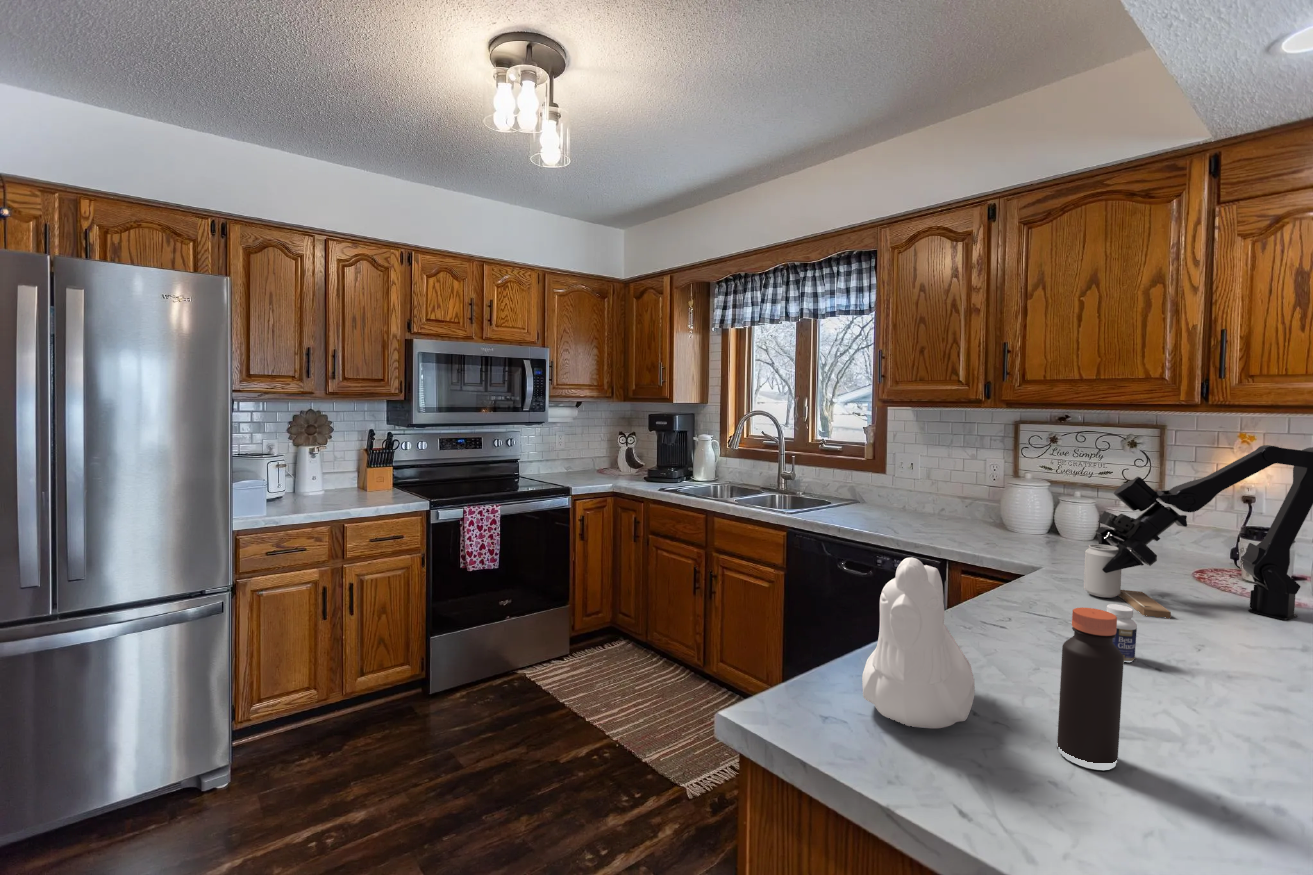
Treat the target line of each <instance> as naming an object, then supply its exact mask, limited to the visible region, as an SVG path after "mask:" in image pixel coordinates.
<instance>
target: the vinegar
mask: <svg viewBox="0 0 1313 875" xmlns="http://www.w3.org/2000/svg"><path fill="white" fill-rule="evenodd" d="M1071 614H1072V616H1071V618H1072V619H1071V626H1072V627H1071V629H1072V631H1073V636H1071V637H1070V638H1068V639H1067V640H1066V641H1064V642H1063V643H1062V646H1061V648H1062V649H1061V668H1060V681H1059V682H1060V684H1059V686H1060V687H1059V703H1058V704H1059V705H1058V719H1057V720H1058V722H1057V738H1056V739H1057V741H1056V742H1057V743H1058V747H1060V749H1062V751H1064V752H1065V753H1067V754H1069V755H1071V756H1074V757H1075V758H1078V759H1081V760H1085V761H1087V762H1093V763H1113V762H1115V761H1116V760H1117V758H1118V759H1119V747H1120V746H1119V744H1120V728H1121V713H1122V712H1121V710H1122V696H1123V693H1122V692H1123V678H1124V664H1125V663H1124V657H1123V655H1122V653H1121V652H1120V650H1119V649H1118V648H1117V647H1116V646H1115V645H1114V644H1113V638H1115V636H1116V635H1115V634H1116V630H1117V617H1116V616H1115V615H1114V614H1112V613H1109V612H1107V610H1102V609H1098V608H1092V607H1075V608H1072V613H1071ZM1057 743H1056V744H1057Z"/></svg>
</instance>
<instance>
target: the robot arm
mask: <svg viewBox="0 0 1313 875" xmlns="http://www.w3.org/2000/svg"><path fill="white" fill-rule="evenodd" d="M1276 464H1280V465H1285V466H1286V465H1288V466H1293V468H1292V484H1291V486H1290V488H1289V490H1288V491H1287V494H1286V496H1285V498H1284V499H1283V502H1282V504H1281V505H1280V507H1279V510H1278V512H1277V514H1276V516H1275V517H1274V519H1273V521H1272V522H1271V525H1270V527H1269V529H1268V531H1267V533H1266V535H1265V536H1264V539H1263V540H1262V541H1260V542H1259V543H1258V544H1254V543H1252V542H1249V543H1248V545H1247V548H1246V552H1245V553H1244V554H1243V555H1242V556H1241V557H1240V558H1241V559H1242V560H1243V562H1242V567H1243V569H1244V570H1245V573H1246V572H1247V574H1249V575H1250V576H1251V577H1252V580H1253V582H1254V583H1256V584H1253V589H1252V590H1251V591H1250V596H1249V597H1250V598H1249V608H1248V610H1247V611H1248V612H1249V613H1254V614H1257V615H1262V616H1265V617H1270V618H1273V619H1277V620H1280V621H1281V620H1282V621H1287V620H1291V619H1295V618H1298V616H1299V615H1298V614H1297V613H1295V607H1296V595H1297V593H1298V592H1299V590H1300V588H1301V585H1300V584H1299V583H1298V582H1297V581H1296V580H1295V579H1293V578H1292V577H1291V576H1290V575H1289V574H1288V572H1289V569H1290V568H1289V567H1290V564H1291V549H1292V548H1291V547H1292V546H1293V544H1294V542H1295V540H1296V538H1297V536H1298V535H1299V532H1300V530H1301V528H1302V526H1303V525H1304V522H1305V520H1306V518H1307V517H1308V515H1309V513H1310V512H1311V509H1312V507H1313V447H1312V446H1311V447H1306V448H1304V449H1302V450H1301V449H1295V448H1286V447H1279V446H1276V445H1271V444H1263V445H1260V446H1258V447H1257V448H1256V449H1255V450H1253V451H1252V452H1250V453H1248V454H1245V455H1244V456H1242V457H1240V458H1238V459H1237V460H1235V461H1233V462H1231V463H1229V464H1227V465H1225V466H1224V467H1222V468H1219V469H1218V470H1216V471H1214V472H1211V474H1209V475H1207V476H1204V477H1201V478H1197V479H1194V480H1190V481H1187V482H1184V483H1182V484H1178V485H1175V486H1173V487H1171V488H1170V489H1166V490H1156V491H1155V490H1154V489H1153V488H1152V487H1151V486H1150V485H1149V484H1147V483H1146V481H1145V480H1144V479H1143V478H1142V477H1141V476H1136V477H1134V478H1133V479H1131V480H1129V481H1127V482H1126V483H1122V484H1121V485H1120V486H1119V487H1118V488H1116V489H1115V491H1114V492H1113V495H1114V496H1116V498H1118V499H1119V500H1120V501H1121V502H1122V503H1124V504H1125V506H1127V507H1128V508H1129V509H1130V510H1131V511H1133V512H1135V511H1139V512H1143V513H1141V514H1140V515H1138V517H1136V518H1133V517H1130V516H1129V515H1127V514H1124V513H1119V514H1118V515H1116V514H1113V513H1111V512H1108V511H1106V510H1104V511H1103V512H1102V514H1101V515H1100V517H1099V519H1098V520H1097V523H1099V524H1102V525H1105V526H1100V527H1099V528H1097V529H1096V530H1095V533H1096V534H1097V535H1096V538H1097V539H1098V544H1101V545H1109V546H1114V547H1117V548H1118V553H1117V554H1116V555H1115V556H1114V557H1113V558H1112V559H1111V560H1110V561H1109V562H1108V563H1107V564H1106V565H1105V567H1104V568H1103V569H1102V570H1103V571H1104V572H1105V573H1108V572H1112V571H1117V570H1121V571H1122V570H1125V569H1128V568H1133V567H1134V568H1135V567H1138V566H1144V564H1145V565H1147V566H1149V567H1151V566H1152V565H1153V564H1155V563H1156V562H1157V561H1158V555H1157V554H1156V552H1154V551H1153V550H1152V549H1151V548H1150V547H1149V546H1148V545H1149V544H1150V543H1151V542H1153V541H1154V542H1159V541H1160V540H1161V537H1160V535H1161V534H1163V533H1164V532H1165V531H1166V530H1168V529H1169V528H1170V527H1172V526H1173V525H1174V524H1176V525H1177V526H1179V527H1183V528H1186V527H1188V522H1187V519H1188V518H1187V517H1188V516H1187V515H1186V514H1179V513H1178V512H1177V511H1176V510H1174V508H1176V509H1177V510H1180V511H1181V512H1185V513H1195V512H1197V511H1199V510H1201V509H1203V507H1205V506H1206V505H1207V504H1209V503H1211V502H1212V501H1213V499H1214V498H1216V496H1217V495H1219V494H1220V493H1221V492H1222V491H1224V490H1226V489H1228V488H1230V487H1233V486H1234V485H1236V484H1238V483H1239V482H1241V481H1244V480H1245V479H1247V478H1249V477H1251V476H1253V475H1255V474H1257V473H1259V472H1261V471H1263V470H1265V469H1267V468H1268V467H1270V466H1272V465H1276ZM1160 501H1161V502H1162V503H1164V504H1166V505H1170V506H1164V505H1163V504H1162V503H1161V502H1160ZM1172 507H1174V508H1172Z"/></svg>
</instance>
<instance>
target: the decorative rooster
mask: <svg viewBox="0 0 1313 875" xmlns="http://www.w3.org/2000/svg"><path fill="white" fill-rule="evenodd" d="M945 619H946V618H945V606H944V587H943V581H942V577H941V574H940V571H939V569H938V568H936V567H933V566H931V565H927V564H925V565H924V564H923V562H922V561H921V560H919V559H918V558H916V557H906V558H904V559H903V560H902V561H900V563H899V564H898V566H897V568H896V571H895V577H894V578H892V579H891V580H889V581H888V582H887V583H885V585H884V586H883V588H882V590H881V594H880V597H879V630H878V631H879V632H878V639H877V644H876V647H875V649H874V650H873V651H872V653H871V654H870V655H869V656H868V658H867V660H866V662H865V665H864V669H863V672H862V676H861V677H862V681H861V682H862V697H863V698H864V699H865V701H868V702H869V703H871V704H873V705H874V708H876V711H877V712H878V713H879V714H880V715H882V716H883V717H885V718H886V719H889V718H890V720H892V721H894V720H895V721H894V722H898V723H899V722H900V723H899V724H902V725H904V724H905V725H904V726H908V727H910V726H912V728H913V727H914V728H923V729H941V728H943V729H944V728H947V727H951V726H953V725H954V724H956V723H959V722H964V721H966V720H967V719H968V717H969V714H970V712H971V709H972V707H973V703H974V699H975V694H976V689H975V688H976V687H975V677H974V674H973V669H972V665H971V663H970V661H969V660H968V659H967V657H966V655H965V653H964V652H963V651H962V649H961V647H960V645H959V644H958V643H957V641H956V640H955V637H953V635H952V633H951V632H950V630H949V629H948V627H947V625H946V624H945Z"/></svg>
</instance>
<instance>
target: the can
mask: <svg viewBox="0 0 1313 875" xmlns="http://www.w3.org/2000/svg"><path fill="white" fill-rule="evenodd" d="M1084 553H1085V554H1084V571H1083V572H1084V573H1083V590H1085V591H1086V593H1087V594H1090V596H1091V595H1092V596H1094V597H1100V598H1111V599H1113V598H1116V597H1117V596H1118V595H1119V594H1120V590H1122V589H1121V588H1122V586H1121V585H1122V569H1121V570H1117V571H1112V572H1108V573H1105V572H1104V571H1103V570H1102V569H1103V568H1104V567H1105V565H1106V564H1107V563H1108V562H1109V561H1110V560H1111V559H1112V558H1113V557H1114V556H1115V555H1116V554H1117V553H1118V548H1117V547H1114V546H1109V545H1101V544H1099V543H1098V544H1097V543H1092V544H1088V548H1087V549H1086V550H1085V552H1084Z"/></svg>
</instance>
